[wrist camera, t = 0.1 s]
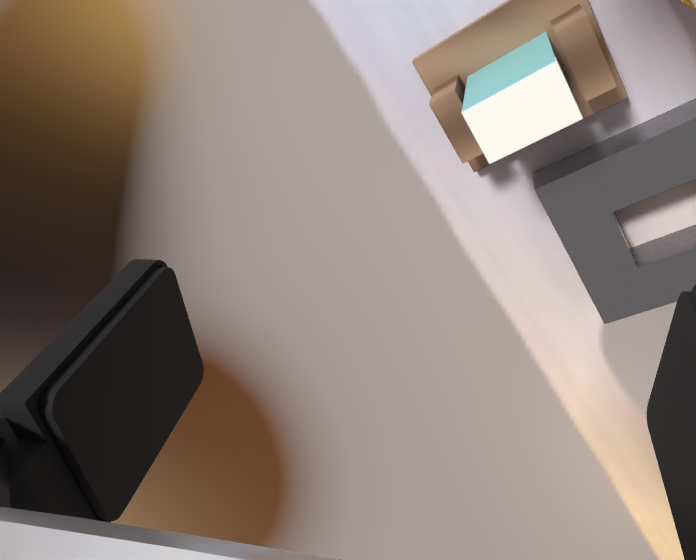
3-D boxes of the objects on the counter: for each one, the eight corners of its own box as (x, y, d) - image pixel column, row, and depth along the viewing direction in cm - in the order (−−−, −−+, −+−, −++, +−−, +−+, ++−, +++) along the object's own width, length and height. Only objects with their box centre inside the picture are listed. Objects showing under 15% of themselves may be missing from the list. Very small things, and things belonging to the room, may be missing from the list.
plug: (466, 77, 42) (461, 112, 36) (547, 30, 39) (556, 59, 33) (491, 123, 43) (489, 164, 37) (570, 81, 41) (583, 119, 34)
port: (532, 173, 46) (534, 191, 43) (758, 69, 39) (777, 83, 36) (599, 303, 51) (605, 326, 49) (809, 234, 44) (828, 256, 41)
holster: (413, 58, 43) (405, 76, 39) (570, -39, 37) (579, -30, 33) (474, 167, 47) (472, 193, 43) (625, 93, 41) (638, 115, 37)
